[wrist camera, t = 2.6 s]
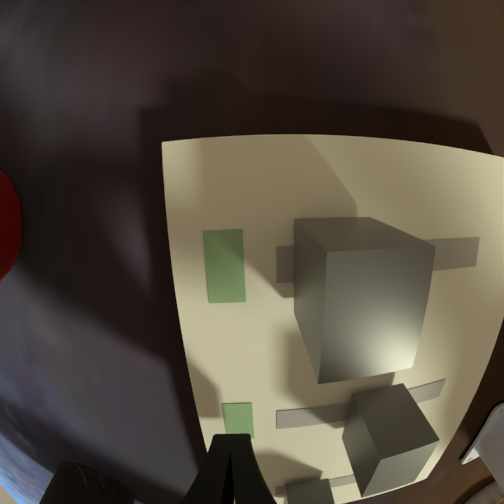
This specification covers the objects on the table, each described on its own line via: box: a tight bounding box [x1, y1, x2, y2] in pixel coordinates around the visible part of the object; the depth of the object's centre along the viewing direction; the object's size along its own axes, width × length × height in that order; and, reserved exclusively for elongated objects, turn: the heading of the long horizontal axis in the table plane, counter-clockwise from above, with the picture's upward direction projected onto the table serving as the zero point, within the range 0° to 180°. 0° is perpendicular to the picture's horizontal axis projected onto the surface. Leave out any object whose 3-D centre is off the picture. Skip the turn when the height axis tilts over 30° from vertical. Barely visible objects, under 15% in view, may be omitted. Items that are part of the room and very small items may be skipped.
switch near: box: [294, 217, 436, 384], centre depth 7 cm, size 2×3×4 cm
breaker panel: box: [162, 134, 504, 504], centre depth 12 cm, size 15×22×2 cm
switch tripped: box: [342, 383, 440, 498], centre depth 9 cm, size 2×3×4 cm
